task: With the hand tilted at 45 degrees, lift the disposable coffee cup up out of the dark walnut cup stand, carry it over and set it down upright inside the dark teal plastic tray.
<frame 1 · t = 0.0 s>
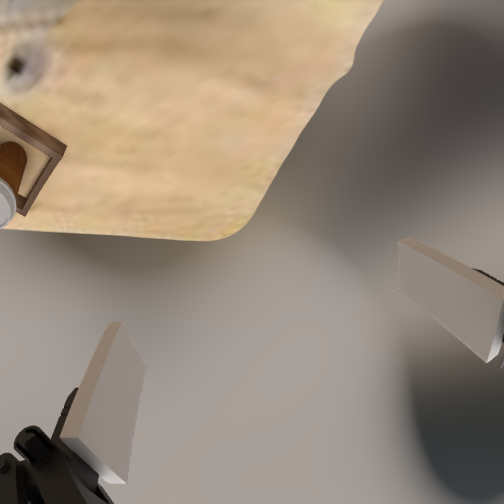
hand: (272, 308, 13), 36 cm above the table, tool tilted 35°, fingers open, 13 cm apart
disposable coffee cup: (11, 156, 34), resting in walnut cup stand
walnut cup stand: (11, 157, 34), on the table
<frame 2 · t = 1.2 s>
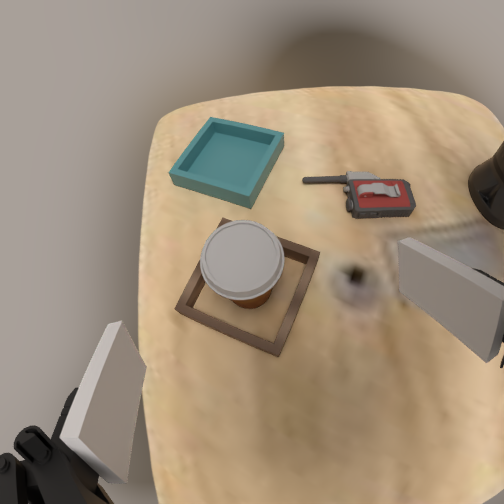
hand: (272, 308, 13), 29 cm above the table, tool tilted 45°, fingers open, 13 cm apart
disposable coffee cup: (250, 288, 43), resting in walnut cup stand
walnut cup stand: (249, 287, 43), on the table
walkie-talkie: (360, 199, 49), on the table
teal tray: (229, 164, 53), on the table
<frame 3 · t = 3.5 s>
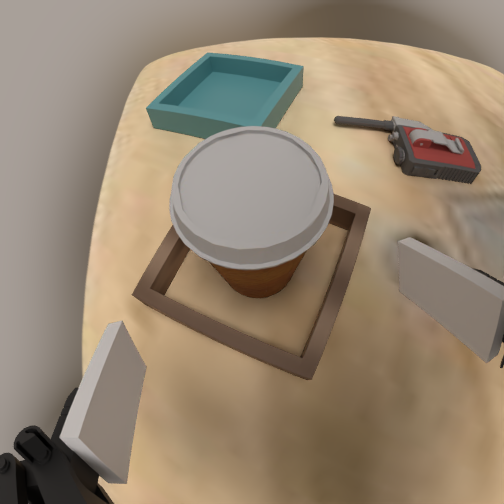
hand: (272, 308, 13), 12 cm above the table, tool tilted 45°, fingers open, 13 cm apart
disposable coffee cup: (258, 264, 27), resting in walnut cup stand
walnut cup stand: (258, 263, 26), on the table
walkie-talkie: (410, 154, 32), on the table
teal tray: (230, 102, 37), on the table
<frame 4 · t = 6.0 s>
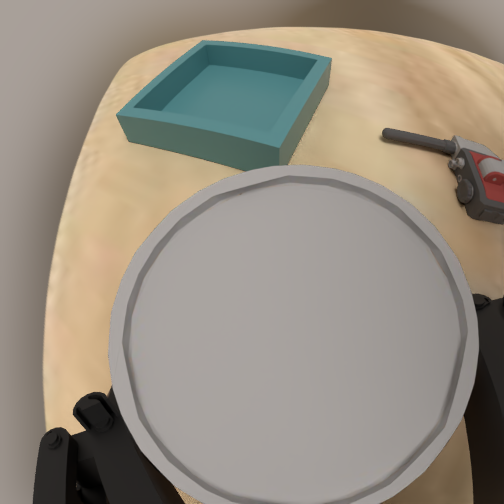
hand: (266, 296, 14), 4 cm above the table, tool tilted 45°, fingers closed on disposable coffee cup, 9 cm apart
disposable coffee cup: (282, 367, 17), resting in walnut cup stand, touching gripper
walkie-talkie: (472, 187, 22), on the table
teal tray: (233, 105, 27), on the table
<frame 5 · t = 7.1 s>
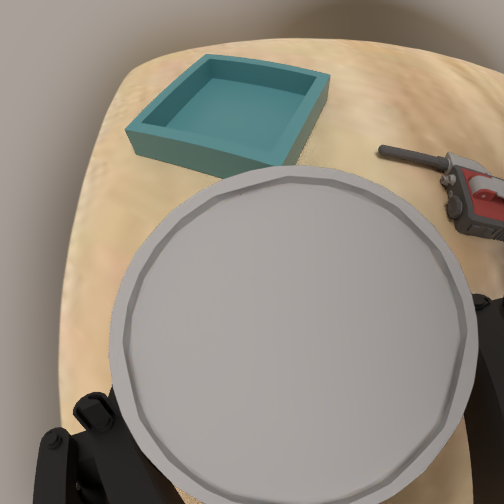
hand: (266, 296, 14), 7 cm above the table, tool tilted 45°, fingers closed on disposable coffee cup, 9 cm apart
disposable coffee cup: (282, 367, 17), point 2 cm above the table, touching gripper
walkie-talkie: (463, 202, 24), on the table
teal tray: (236, 120, 29), on the table
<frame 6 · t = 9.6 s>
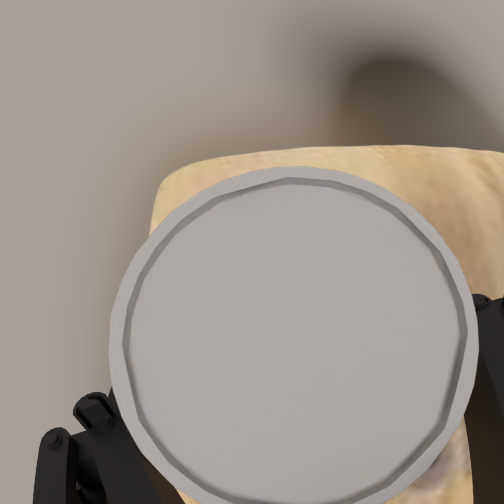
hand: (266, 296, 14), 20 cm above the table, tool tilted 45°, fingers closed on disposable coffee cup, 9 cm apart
disposable coffee cup: (282, 368, 17), point 16 cm above the table, touching gripper
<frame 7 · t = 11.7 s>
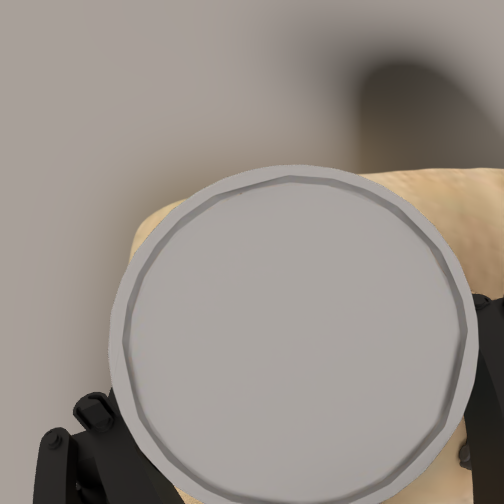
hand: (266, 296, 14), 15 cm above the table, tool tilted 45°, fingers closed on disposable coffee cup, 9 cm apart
disposable coffee cup: (282, 367, 17), point 11 cm above the table, touching gripper
when the fingers open (6 cm above the table, at t = 14.2 s): disposable coffee cup drops 1 cm, resting on teal tray.
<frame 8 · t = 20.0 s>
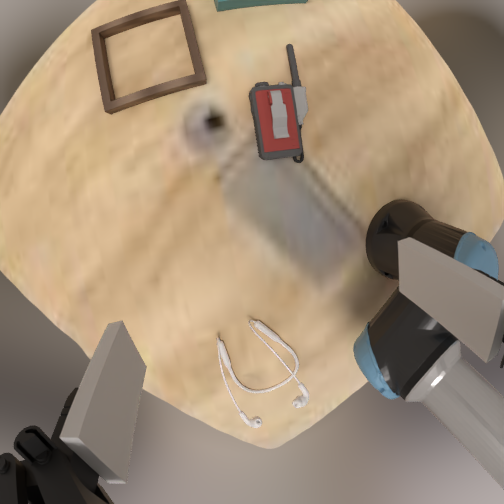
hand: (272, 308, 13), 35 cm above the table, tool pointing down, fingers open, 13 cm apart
walnut cup stand: (147, 56, 36), on the table
walkie-talkie: (276, 103, 42), on the table
earphone: (256, 356, 56), on the table
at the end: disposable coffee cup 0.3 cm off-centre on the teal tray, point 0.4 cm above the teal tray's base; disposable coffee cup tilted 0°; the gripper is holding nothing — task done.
